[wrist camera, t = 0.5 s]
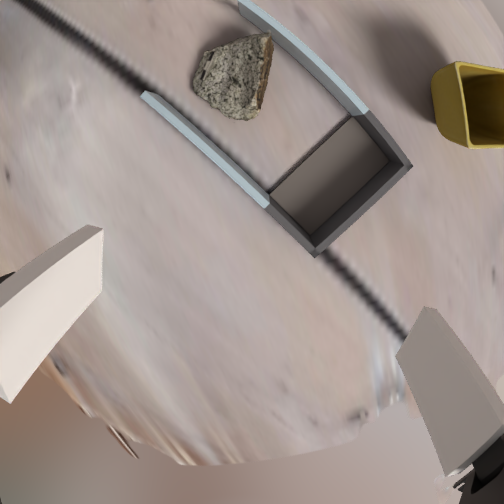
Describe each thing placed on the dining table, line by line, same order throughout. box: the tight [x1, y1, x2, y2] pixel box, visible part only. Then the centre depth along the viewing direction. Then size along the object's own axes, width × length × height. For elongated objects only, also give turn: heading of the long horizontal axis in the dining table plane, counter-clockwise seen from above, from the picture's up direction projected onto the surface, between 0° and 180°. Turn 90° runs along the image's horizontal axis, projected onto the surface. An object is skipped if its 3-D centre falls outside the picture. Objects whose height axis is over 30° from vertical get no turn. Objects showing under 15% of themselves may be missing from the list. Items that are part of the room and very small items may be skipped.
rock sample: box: [193, 30, 274, 121], centre depth 26 cm, size 10×8×9 cm
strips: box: [140, 0, 369, 208], centre depth 27 cm, size 17×15×4 cm
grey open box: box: [264, 110, 413, 258], centre depth 30 cm, size 8×15×4 cm, turn 136°
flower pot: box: [431, 61, 504, 149], centre depth 23 cm, size 9×9×9 cm
